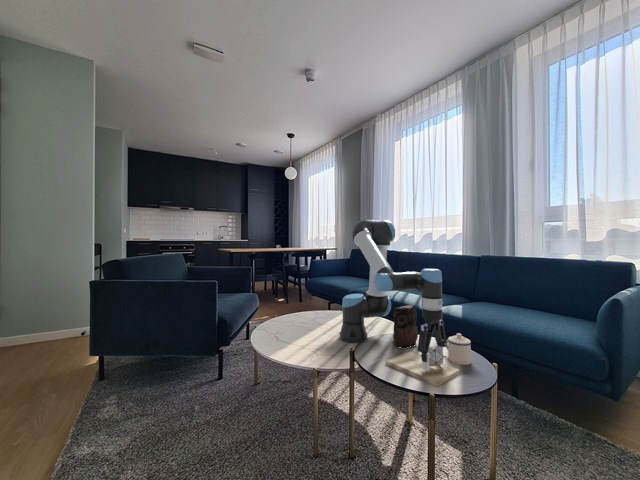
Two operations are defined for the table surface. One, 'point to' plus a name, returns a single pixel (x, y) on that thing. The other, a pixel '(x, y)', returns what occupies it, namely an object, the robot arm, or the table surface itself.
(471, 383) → the table surface
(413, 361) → the board
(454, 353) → the teacup with lid
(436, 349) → the game die
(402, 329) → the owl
